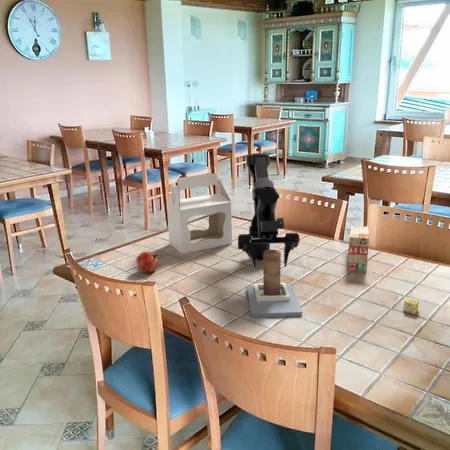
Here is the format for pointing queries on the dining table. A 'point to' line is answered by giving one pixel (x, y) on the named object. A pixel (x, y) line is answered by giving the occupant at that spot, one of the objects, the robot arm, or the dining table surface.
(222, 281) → the dining table surface
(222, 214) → the gable box
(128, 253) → the dining table surface
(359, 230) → the stack of blocks
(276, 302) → the baseplate
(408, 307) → the alphabet block
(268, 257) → the walnut column
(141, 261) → the pomegranate
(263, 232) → the robot arm
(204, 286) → the dining table surface
